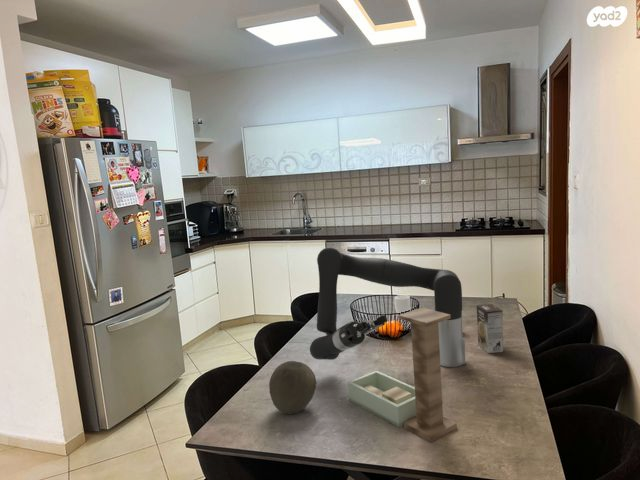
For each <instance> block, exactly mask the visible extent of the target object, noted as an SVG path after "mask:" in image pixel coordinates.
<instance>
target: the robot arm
mask: <svg viewBox="0 0 640 480" xmlns="http://www.w3.org/2000/svg"><path fill="white" fill-rule="evenodd" d="M316 263H317V268H318V277H319V278H318V279H319V283H318V284H319V287H318V290H319V291H318V302H317V314H316V330H317V331H319V332H321V333H324V334H325V335H322V336H320V337H317V338H315V339H314V340H312V342H311V344H310V346H309V353H310V355H311V357H312V358H313V359H315V360H331V361H332V360H336V359H337V358H338V357H339V355H340V354H341V353H343V352H344V351H346V350H347V351H348V350H350V349H352V348H355V347H356V346H359V345H360V344H362V343H363V342H364V340H365V338H366V335H368V334H369V333H371V332H374V331H375V330H377V329H379V328H381V327H382V326H385V325H386V323H387V322H388V319H387V317H386V314H383V315H380V316H379V317H376V318H374V319H368V320H364V321H362V322H357V321H354V320H353V321H352V320H351V321H349V322H347V323H345V324H344V325H342V326H340V327H339V328H337V317H338V292H337V289H338V278H339V276H347V277H354V278H357V279H360V280H363V281H367V282H370V283H374V284H378V285H384V286H389V287H394V288H395V287H396V288H405V287H406V288H408V287H410V288H411V287H414V288H415V287H416V288H423V289H426V290H430V291H433V293H434V311H438V312H442V313H446V314H450V315H451V318H450V319H447V320H445V321H442V322H439V323H438V327H439V347H440V366H441V367H442V366H443V367H446V368H455V367H461V366H463V365H466V343H465V342H466V341H465V337H464V336H463V316H462V315H463V313H462V312H463V311H462V310H463V287H462V283H461V281H460V279H459V277H458V275H457V274H456V273H455V272H454V271H452V270H449V269H442V268H441V269H440V268H439V269H438V268H429V267H421V266H417V265H413V264H410V263H406V262H401V261H396V260H394V259H393V260H392V259H388V258H381V257H380V258H379V257H358V256H352V255H349V254H345V253H342V252H340V251H339V250H338V249H337V248H335V247H332V246H328V247H327V246H326V247H324V248H323V249H321V250H320V252H319V253H318V254H317V258H316Z"/></svg>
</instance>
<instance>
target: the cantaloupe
mask: <svg viewBox="0 0 640 480" xmlns="http://www.w3.org/2000/svg"><path fill="white" fill-rule="evenodd" d="M268 386H269V387H268V388H269V395H270V399H271V401H272V403H273V406H274V407H275V408H276V409H277V410H278V411H279V412H281V413H285V414H288V415H291V414H296V413H299V412H301V411H302V410H303V409H305V408H306V407H307V406H308V405H310V404H309V403H310V402H311V401H312V399H313V397H314V395H315V391H316V386H317V378H316V375H315V373H314V371H313V369H312V368H311V367H310V366H308V365H307V364H306V363H304V362H301V361H295V360H289V361H285V362H283V363H280V364H279V365H277V367H276V368H275V369H274V370H273V372H272V374H271V377H270V378H269V383H268Z"/></svg>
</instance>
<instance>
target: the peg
mask: <svg viewBox="0 0 640 480" xmlns="http://www.w3.org/2000/svg"><path fill="white" fill-rule="evenodd" d="M363 388H365V389H367V390H369V391H371V392H373V393H375V394H377V395H379V396H381V397H383V398H385V399H387V400H389V401H391V402H393V403H395V404H397V405H398V404H400V403H402V402H404V401H406V400H408V399H410V398H411V393H409V392H407V391H405V390H403V389H401V388H399V387H395V388H392V389H390V390H388V391H385V392H383V391H381V390H379V389H377V388H375V387H373V386H371V385H367V386H364V387H363Z"/></svg>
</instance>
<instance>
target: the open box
mask: <svg viewBox="0 0 640 480" xmlns="http://www.w3.org/2000/svg"><path fill="white" fill-rule="evenodd" d="M367 385H371V386H373V387H375V388H377V389H379V390H381V391H383V392H385V391H388V390H390V389H392V388H395V387H399V388H401V389H403V390H405V391H407V392H409V393H411V398H410V399H408V400H406V401H404V402H402V403H400V404H398V405H397V404H395V403H393V402H391V401H389V400H387V399H385V398H383V397H381V396H379V395H377V394H375V393H373V392H371V391H369V390H367V389H365V388H363V387H364V386H367ZM347 390H348V391H347V392H348V400H349V401H350V402H351V403H353V404H355V405H357V406H358V407H360V408H363V409H364V410H366V411H368V412H370V413H371V414H374V415H376V416H377V417H379V418H381V419H382V420H385V421H386V422H388V423H390V424H392V425H393V426H396V428H397V427H398V428H400V427H402V426H404V422H405V421H407V420H409V419H411V418H413V417H415V416H416V401H415V386H413V385H410V384H408V383H406V382H404V381H402V380H399V379H397V378H394V377H393V376H390V375H388V374H385V373H384V372H381V371H378V370H375V371H373V372H369V373H367V374H365V375H362V376H359V377H357V378H354V379H352V380H350V381H347Z"/></svg>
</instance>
